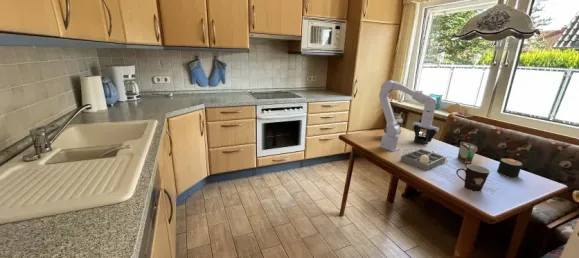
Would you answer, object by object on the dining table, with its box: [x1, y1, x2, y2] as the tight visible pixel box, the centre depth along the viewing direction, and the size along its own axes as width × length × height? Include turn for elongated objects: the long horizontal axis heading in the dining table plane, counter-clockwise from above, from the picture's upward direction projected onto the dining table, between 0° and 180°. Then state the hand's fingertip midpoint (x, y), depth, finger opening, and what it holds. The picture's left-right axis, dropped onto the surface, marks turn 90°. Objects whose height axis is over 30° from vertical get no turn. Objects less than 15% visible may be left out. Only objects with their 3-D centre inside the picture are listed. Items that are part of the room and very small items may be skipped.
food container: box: [457, 141, 478, 165], centre depth 144 cm, size 12×6×10 cm, turn 168°
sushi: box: [496, 158, 523, 178], centre depth 130 cm, size 8×8×8 cm
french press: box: [413, 117, 430, 145], centre depth 172 cm, size 12×9×23 cm
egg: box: [419, 155, 429, 164], centre depth 135 cm, size 4×4×6 cm
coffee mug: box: [455, 163, 491, 193], centre depth 114 cm, size 12×9×10 cm
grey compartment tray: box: [400, 148, 447, 171], centre depth 142 cm, size 15×22×3 cm
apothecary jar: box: [383, 112, 404, 135], centre depth 180 cm, size 12×12×18 cm
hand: (422, 139), depth 148 cm, fingers open, 7 cm apart
